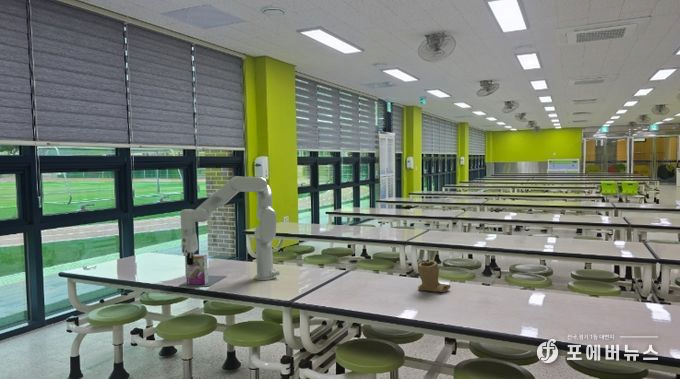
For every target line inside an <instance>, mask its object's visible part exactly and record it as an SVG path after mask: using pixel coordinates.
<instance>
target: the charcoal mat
mask: <svg viewBox="0 0 680 379" xmlns="http://www.w3.org/2000/svg"><path fill="white" fill-rule="evenodd" d="M225 278H227V275H208V283H207V284H205V285H195V284H194V285H193V284H187V281H185V282H183V283H181V284H179V287H195V288H196V287H197V288H198V287H199V288H201V287H202V288H209V287H211V286H213V285H214V284H217V283H218V282H220V281H221V280H223V279H225Z"/></svg>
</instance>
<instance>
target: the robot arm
mask: <svg viewBox="0 0 680 379" xmlns="http://www.w3.org/2000/svg"><path fill="white" fill-rule="evenodd" d="M240 192H241V193H242V192H243V193H244V192H245V193H256V196H257V206H256V207H257V208H256V209H257V210H256V218H257V220H258V221H259V225H257V226H256V228H255V230H254V240H255V254H256V275H255V276H254V279H255V280H257V281H269V280H273V279H275V278H277V276H280V275H281V272H280V271H276V269H275V268H274V257H273V255H274V254H273V250H274V249H273V241H274V240H275V238H276V234H277V213H276V210H274V209H273V192H272V189H271V187H270V186H269V184H268V182H267V179H266V178H264V177H262V176H242V175H241V176H239V175H235V176H232V177H231V178H230V179H229V180H228V181H227V182H226V183H224V185H222V186H221V187H220V188H219V189H217V190H216V191H215V192H214V193H213V194H212V195H210V196H209V197H208V198H207V199H205V201H203V202H202V203H201V204H200V205H199V206H198V207H196V208H195V209H192V208H184V209H182V210H181V211H180V212H179V213H180V215H179V216H180V230H181V232H180V233H181V244H180V245H181V253H183V256H184V257H185V256H186V258H187V265H193V264H194V258H193V257H194V255H195V253H196V252H197V251H198V250H199V243H198V236H197V233H196V230H197V229H196V227H197V226H196V223H205V222H207V221H208V220H209V219H210V216H211V214H212V213H213V212H214V211H215V210H216V209H218V208H220V207H221V206H224V205H226V204H228V202H230V201H231V200H232V198H234V197H235V196H236V195H237V194H238V193H240Z"/></svg>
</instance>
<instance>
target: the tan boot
mask: <svg viewBox="0 0 680 379" xmlns="http://www.w3.org/2000/svg"><path fill="white" fill-rule="evenodd" d="M417 272H418V275H419V277H420V280H421V284H419V285H418V286H417V289H418V290H420V291H426V292H427V291H428V292H437V293H445V292H447V291H449V290H450V288H451V285H450V284H445V283H440V282H439V275H440V274H439V273H440V267H439V264H438V262H436V260H435V261H434V260H431V261H430V260H429V261H422V262H420V263H419V264H418V265H417Z"/></svg>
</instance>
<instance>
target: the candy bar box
mask: <svg viewBox="0 0 680 379" xmlns="http://www.w3.org/2000/svg"><path fill="white" fill-rule="evenodd" d="M184 257H185V275H186V276H185V277H186V278H185V279H186V282H187V284H193V285H194V284H195V285H205V284H207V283H208V276H209V271H208V268H209V267H208V255H207V254H194V257H193V258H194V264H193V265H187V258H186V256H184Z"/></svg>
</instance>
